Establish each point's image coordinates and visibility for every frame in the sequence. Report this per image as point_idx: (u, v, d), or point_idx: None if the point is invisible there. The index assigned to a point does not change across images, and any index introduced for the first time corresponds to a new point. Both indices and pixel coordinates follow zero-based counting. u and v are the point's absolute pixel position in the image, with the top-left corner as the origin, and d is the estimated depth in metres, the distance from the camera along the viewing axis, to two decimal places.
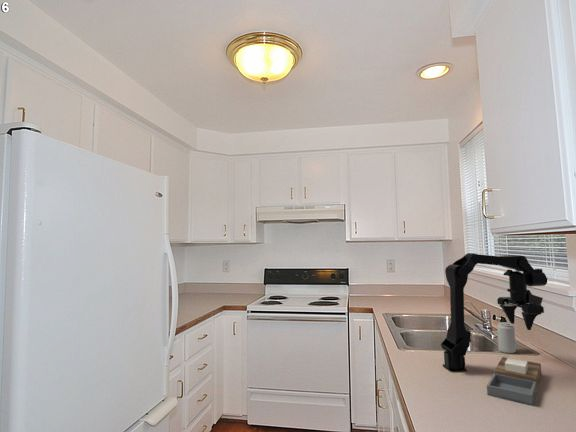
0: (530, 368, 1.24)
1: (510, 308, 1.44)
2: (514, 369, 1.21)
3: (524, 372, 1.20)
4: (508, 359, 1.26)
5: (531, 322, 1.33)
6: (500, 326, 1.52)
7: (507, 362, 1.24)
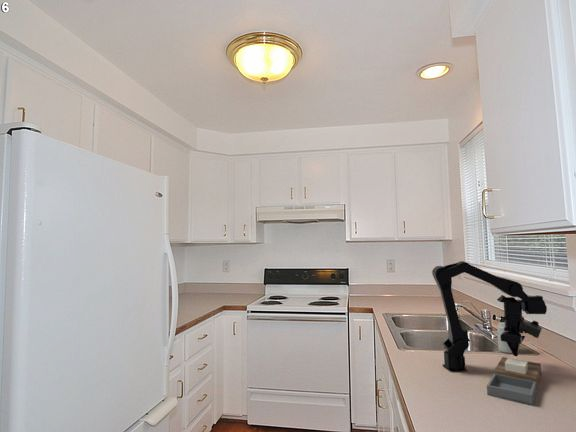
0: (530, 368, 1.24)
1: None
2: (514, 369, 1.21)
3: (524, 372, 1.20)
4: (508, 359, 1.26)
5: (515, 348, 1.31)
6: (500, 326, 1.52)
7: (507, 362, 1.24)
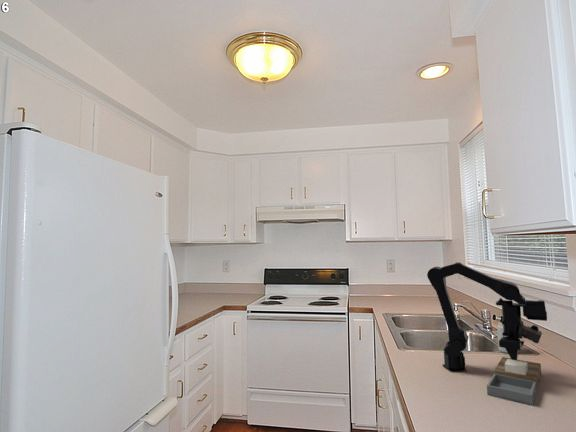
0: (530, 368, 1.24)
1: None
2: (514, 370, 1.21)
3: (524, 373, 1.19)
4: (508, 360, 1.26)
5: (514, 354, 1.25)
6: (500, 326, 1.52)
7: (507, 363, 1.23)
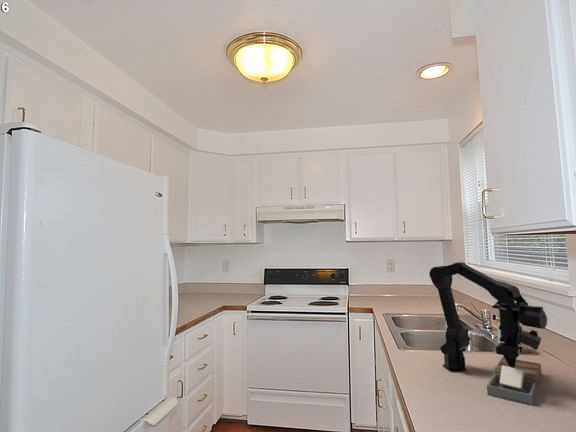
0: (530, 368, 1.24)
1: None
2: (510, 387, 1.17)
3: None
4: (502, 370, 1.20)
5: (512, 361, 1.18)
6: None
7: (502, 380, 1.18)
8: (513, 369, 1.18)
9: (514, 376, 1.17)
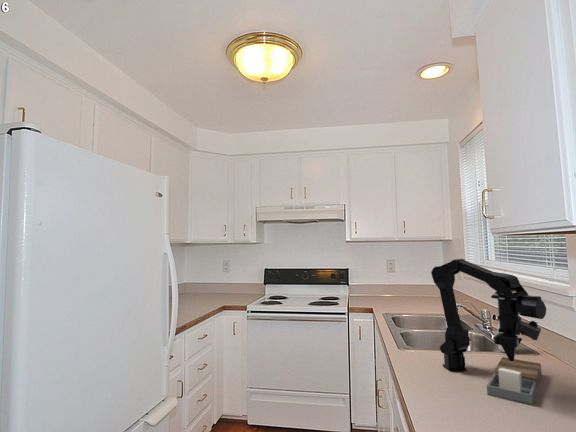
0: (530, 368, 1.24)
1: None
2: None
3: None
4: (500, 374, 1.17)
5: (511, 352, 1.16)
6: None
7: (501, 385, 1.17)
8: (510, 374, 1.15)
9: (512, 381, 1.15)
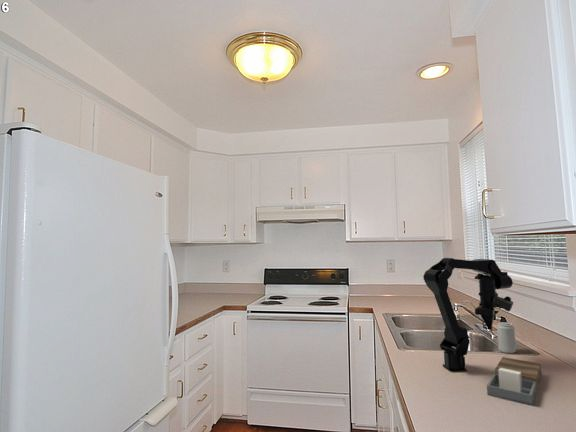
0: (530, 368, 1.24)
1: None
2: None
3: None
4: (500, 374, 1.17)
5: (489, 322, 1.41)
6: (500, 326, 1.52)
7: (501, 385, 1.17)
8: (510, 374, 1.15)
9: (512, 381, 1.15)
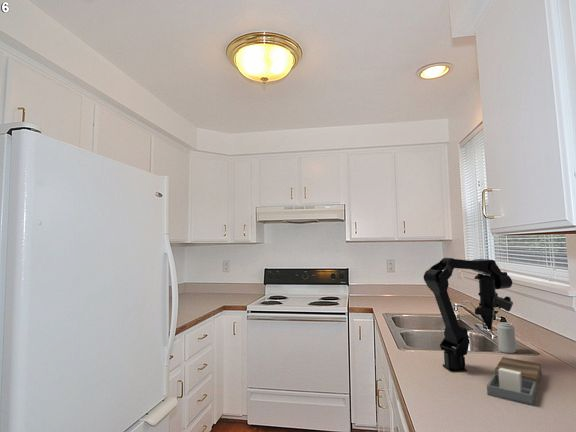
0: (530, 368, 1.24)
1: None
2: None
3: None
4: (500, 374, 1.17)
5: (489, 322, 1.41)
6: (500, 326, 1.52)
7: (501, 385, 1.17)
8: (510, 374, 1.15)
9: (512, 381, 1.15)
